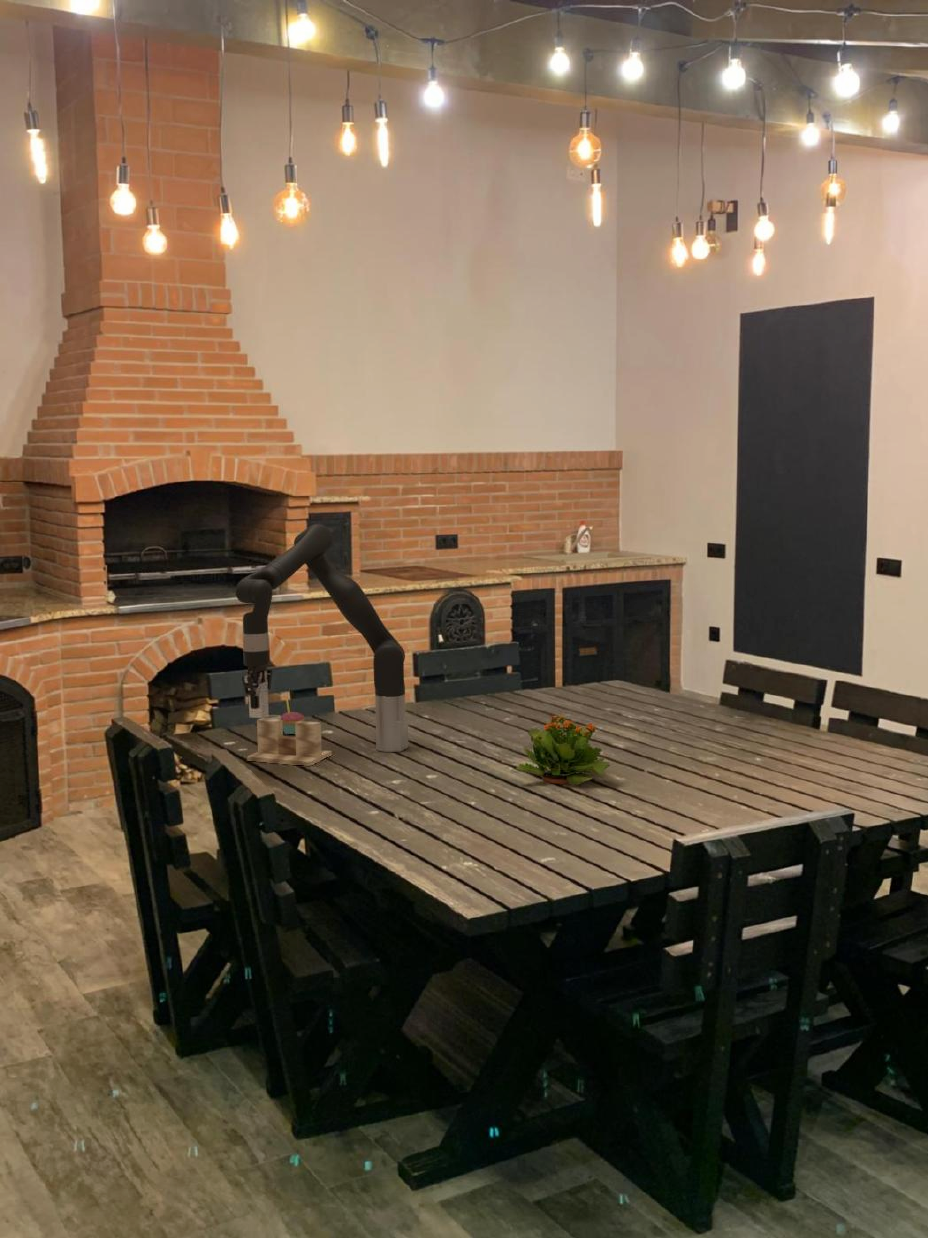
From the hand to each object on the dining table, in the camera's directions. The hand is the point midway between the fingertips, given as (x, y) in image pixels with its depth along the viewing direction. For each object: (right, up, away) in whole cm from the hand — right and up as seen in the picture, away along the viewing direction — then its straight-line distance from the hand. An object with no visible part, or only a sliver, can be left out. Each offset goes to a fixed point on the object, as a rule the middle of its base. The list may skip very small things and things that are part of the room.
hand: (258, 706), depth 357 cm
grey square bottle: (0, -3, 0) cm, 3 cm away
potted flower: (+85, -20, -12) cm, 88 cm away
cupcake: (+3, -12, +49) cm, 51 cm away
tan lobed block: (+7, -17, +15) cm, 23 cm away
